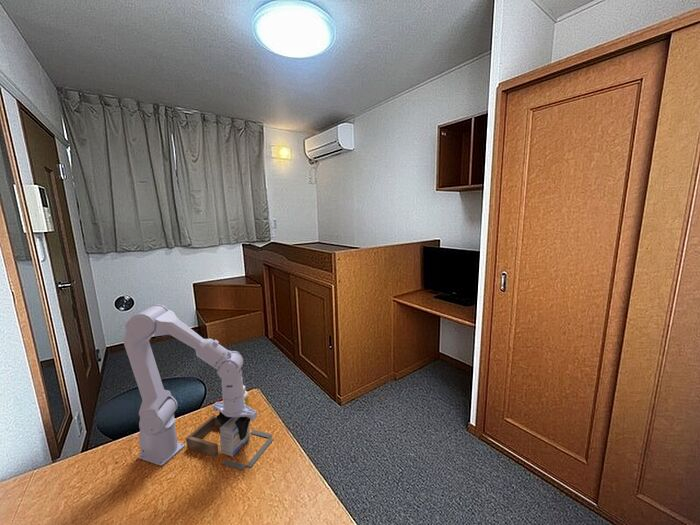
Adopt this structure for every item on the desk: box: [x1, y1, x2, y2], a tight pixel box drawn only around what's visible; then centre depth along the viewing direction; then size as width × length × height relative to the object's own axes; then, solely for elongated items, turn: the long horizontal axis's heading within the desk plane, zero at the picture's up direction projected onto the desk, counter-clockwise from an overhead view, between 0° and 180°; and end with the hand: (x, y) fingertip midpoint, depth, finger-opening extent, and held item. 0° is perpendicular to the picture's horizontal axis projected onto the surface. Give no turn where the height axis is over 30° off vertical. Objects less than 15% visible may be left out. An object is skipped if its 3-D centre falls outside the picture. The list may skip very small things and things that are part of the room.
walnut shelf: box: [185, 414, 222, 458], centre depth 93 cm, size 11×11×4 cm
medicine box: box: [219, 417, 251, 457], centre depth 90 cm, size 8×4×9 cm, turn 161°
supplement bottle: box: [243, 384, 250, 407], centre depth 105 cm, size 5×5×10 cm
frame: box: [221, 429, 274, 471], centre depth 89 cm, size 8×14×1 cm, turn 161°
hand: (236, 435), depth 90 cm, fingers closed on medicine box, 4 cm apart
